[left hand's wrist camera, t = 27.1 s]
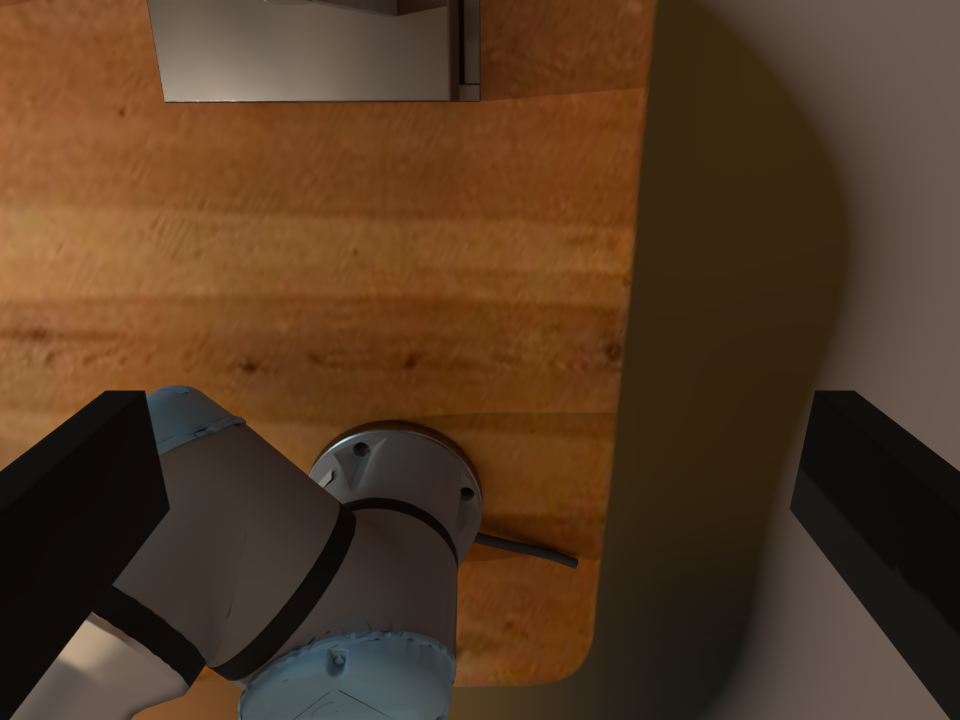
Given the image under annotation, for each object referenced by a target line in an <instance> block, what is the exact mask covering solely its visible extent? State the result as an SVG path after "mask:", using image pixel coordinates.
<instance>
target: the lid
mask: <svg viewBox="0 0 960 720" xmlns="http://www.w3.org/2000/svg"><path fill="white" fill-rule="evenodd" d="M147 4H148V10H149V15H150V21H151V27H152V32H153V38H154V44H155V50H156V55H157V61H158V67H159V72H160V78H161V84H162V90H163V95H164V101H165V102H166V103H295V102H458V101H459V100H460V96H459V28H458V0H147Z"/></svg>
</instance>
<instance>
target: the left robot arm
mask: <svg viewBox="0 0 960 720" xmlns="http://www.w3.org/2000/svg"><path fill="white" fill-rule="evenodd" d="M790 510H791V511H792V513H793V514H794V515H795V517H796V518H797V519H798V520H799V522H800V523H801V524H802V526H803V527H804V528H805V530H806V531H807V532H808V534H809V535H810V536H811V538H812V539H813V540H814V541H815V543H816V544H817V545H818V547H819V548H820V549H821V551H822V552H823V553H824V555H825V556H826V557H827V559H828V560H829V561H830V562H831V564H832V565H833V566H834V568H835V569H836V570H837V572H838V573H839V574H840V576H841V577H842V578H843V579H844V581H845V582H846V583H847V585H848V586H849V587H850V589H851V590H852V591H853V593H854V594H855V595H856V597H857V598H858V599H859V600H860V602H861V603H862V604H863V606H864V607H865V608H866V610H867V611H868V612H869V613H870V615H871V616H872V618H873V619H874V620H875V621H876V623H877V624H878V625H879V627H880V628H881V629H882V631H883V632H884V633H885V635H886V636H887V637H888V638H889V640H890V641H891V642H892V644H893V645H894V646H895V648H896V649H897V650H898V652H899V653H900V654H901V656H902V657H903V658H904V659H905V661H906V662H907V663H908V665H909V666H910V667H911V669H912V670H913V671H914V673H915V674H916V675H917V676H918V678H919V679H920V680H921V682H922V683H923V684H924V686H925V687H926V688H927V690H928V691H929V692H930V694H931V695H932V696H933V698H934V699H935V700H936V701H937V703H938V704H939V705H940V707H941V708H942V709H943V711H944V712H945V713H946V715H947V716H948V717H949V718H950V720H960V471H958V470H957V469H956V468H954V467H953V466H952V465H950V464H949V463H948V462H947V461H945V460H944V459H943V458H941V457H940V456H939V455H937V454H936V453H935V452H934V451H932V450H931V449H930V448H928V447H927V446H926V445H924V444H923V443H922V442H921V441H919V440H918V439H917V438H915V437H914V436H913V435H911V434H910V433H909V432H908V431H906V430H905V429H904V428H902V427H901V426H900V425H898V424H897V423H896V422H894V421H893V420H892V419H891V418H889V417H888V416H887V415H885V414H884V413H883V412H882V411H880V410H879V409H878V408H876V407H875V406H874V405H872V404H871V403H870V402H869V401H867V400H866V399H865V398H863V397H862V396H861V395H859V394H858V393H857V392H856V391H815V394H814V399H813V403H812V408H811V413H810V417H809V422H808V426H807V431H806V436H805V440H804V445H803V450H802V455H801V459H800V464H799V468H798V473H797V478H796V482H795V487H794V491H793V496H792V501H791V505H790ZM481 518H482V491H481V485H480V481H479V478H478V475H477V472H476V470H475V468H474V466H473V465H472V463H471V461H470V460H469V458H468V457H467V456H466V454H465V453H464V452H463V451H462V450H461V449H460V448H459V447H458V446H457V445H456V444H455V443H453V442H452V441H451V440H449V439H448V438H447V437H445V436H443V435H442V434H440V433H438V432H436V431H434V430H432V429H430V428H427V427H424V426H421V425H418V424H414V423H409V422H402V421H378V422H372V423H368V424H364V425H360V426H358V427H355V428H352V429H350V430H348V431H346V432H344V433H343V434H341V435H339V436H338V437H336V438H335V439H334V440H332V441H331V442H330V443H329V444H328V445H327V446H326V447H325V448H324V449H323V451H322V452H321V453H320V455H319V456H318V457H317V459H316V461H315V463H314V465H313V467H312V469H311V471H310V473H309V476H308V475H307V474H305V473H304V472H303V471H302V470H301V469H299V468H298V467H297V466H296V465H295V464H293V463H292V462H291V461H290V460H289V459H287V458H286V457H285V456H284V455H282V454H281V453H280V452H279V451H278V450H276V449H275V448H274V447H273V446H272V445H270V444H269V443H268V442H267V441H266V440H264V439H263V438H262V437H261V436H259V435H258V434H257V433H256V432H255V431H253V430H252V429H251V428H250V427H249V426H247V425H246V421H245V420H244V419H243V418H241V417H238V416H233V415H232V414H230V413H229V412H228V411H226V410H225V409H224V408H222V407H221V406H219V405H218V404H217V403H215V402H214V401H213V400H211V399H210V398H209V397H207V396H206V395H204V394H203V393H202V392H200V391H199V390H197V389H195V388H192V387H189V386H185V385H173V386H167V387H164V388H161V389H159V390H156V391H154V392H152V393H150V394H148V395H147V396H146V394H145V391H104V392H103V393H102V394H101V395H99V396H98V397H97V398H95V399H94V400H93V401H91V402H90V403H89V404H88V405H86V406H85V407H84V408H82V409H81V410H80V411H78V412H77V413H76V414H75V415H73V416H72V417H71V418H69V419H68V420H67V421H65V422H64V423H63V424H62V425H60V426H59V427H58V428H56V429H55V430H54V431H52V432H51V433H50V434H49V435H47V436H46V437H45V438H43V439H42V440H41V441H39V442H38V443H37V444H36V445H34V446H33V447H32V448H30V449H29V450H28V451H26V452H25V453H24V454H23V455H21V456H20V457H19V458H17V459H16V460H15V461H13V462H12V463H11V464H10V465H8V466H7V467H6V468H4V469H3V470H2V471H0V720H131V719H132V717H133V716H134V715H135V714H137V713H139V712H140V711H142V710H144V709H145V708H148V707H151V706H154V705H158V704H161V703H163V702H167V701H170V700H173V699H176V698H179V697H182V696H184V695H185V694H186V692H187V691H188V690H189V688H190V687H191V685H192V684H193V682H194V681H195V680H196V678H197V677H198V675H199V674H200V672H201V671H202V669H203V668H204V666H205V665H206V666H207V667H208V668H211V669H212V670H213V671H215V672H216V673H218V674H219V675H221V676H222V677H224V678H225V679H227V680H228V681H230V682H231V683H233V684H234V685H236V686H237V687H239V688H240V689H242V690H243V692H242V694H241V697H240V701H239V703H238V705H239V706H238V710H237V711H238V720H447V718H448V714H449V708H450V700H451V691H452V685H453V683H454V680H455V677H456V667H457V666H456V623H457V575H458V568H459V566H460V565H461V563H462V561H463V559H464V557H465V556H466V554H467V552H468V550H469V549H470V547H471V545H472V543H473V542H475V543H479V544H484V545H488V546H492V547H496V548H500V549H504V550H508V551H513V552H517V553H522V554H527V555H532V556H537V557H541V558H545V559H548V560H552V561H555V562H558V563H561V564H563V565H566V566H569V567H572V568H574V569H575V568H576V567H577V565H578V559H575V558H572V557H570V556H567V555H564V554H562V553H559V552H556V551H553V550H549V549H546V548H542V547H538V546H533V545H529V544H524V543H519V542H515V541H510V540H506V539H502V538H498V537H494V536H490V535H486V534H482V533H478V531H479V527H480V524H481Z"/></svg>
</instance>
